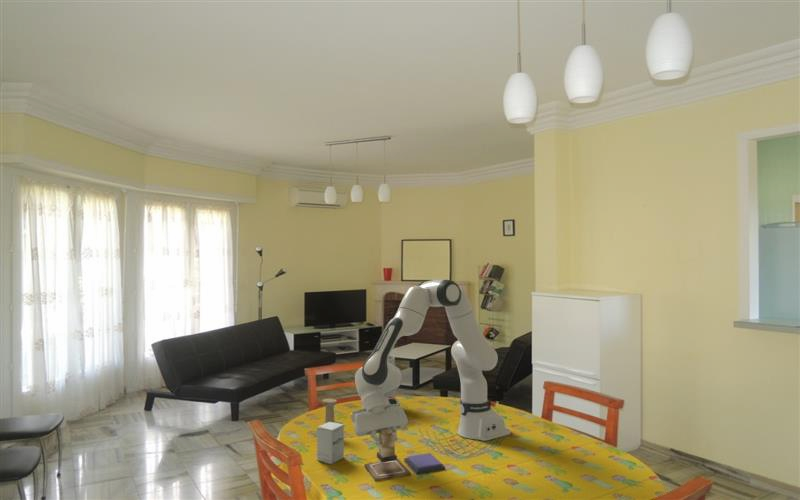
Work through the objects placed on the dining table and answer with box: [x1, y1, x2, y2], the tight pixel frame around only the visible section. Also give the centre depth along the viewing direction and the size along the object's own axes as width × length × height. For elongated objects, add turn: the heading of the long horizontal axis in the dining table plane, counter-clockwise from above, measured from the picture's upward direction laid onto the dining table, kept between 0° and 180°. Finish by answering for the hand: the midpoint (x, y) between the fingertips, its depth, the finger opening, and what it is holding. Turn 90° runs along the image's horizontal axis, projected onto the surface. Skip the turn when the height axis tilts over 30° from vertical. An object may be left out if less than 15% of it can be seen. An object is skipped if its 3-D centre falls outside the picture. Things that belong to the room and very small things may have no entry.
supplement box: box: [316, 422, 345, 465], centre depth 191 cm, size 7×7×13 cm
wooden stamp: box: [376, 428, 398, 462], centre depth 181 cm, size 6×6×10 cm
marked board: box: [364, 458, 412, 482], centre depth 181 cm, size 13×13×1 cm
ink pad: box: [403, 452, 446, 475], centre depth 185 cm, size 11×12×2 cm
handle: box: [321, 398, 338, 424], centre depth 216 cm, size 5×6×15 cm
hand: (387, 442), depth 180 cm, fingers closed on wooden stamp, 5 cm apart
